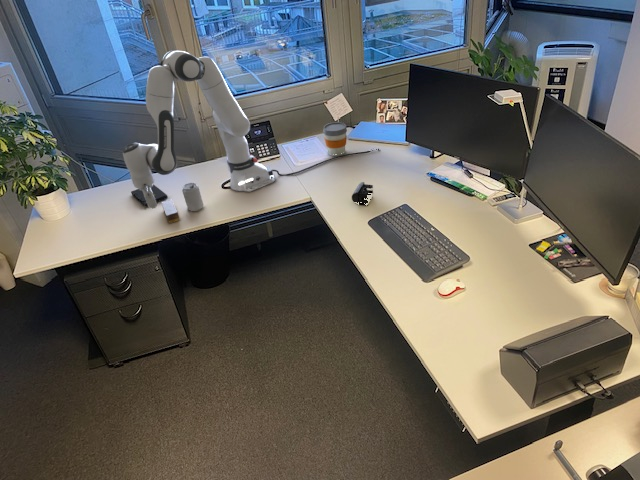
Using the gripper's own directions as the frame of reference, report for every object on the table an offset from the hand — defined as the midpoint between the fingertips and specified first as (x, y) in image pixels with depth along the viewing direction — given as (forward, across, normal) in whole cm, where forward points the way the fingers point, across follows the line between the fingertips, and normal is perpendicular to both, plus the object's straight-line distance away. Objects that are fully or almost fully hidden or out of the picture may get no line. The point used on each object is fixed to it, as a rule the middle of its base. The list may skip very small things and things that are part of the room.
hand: (153, 206), depth 209 cm
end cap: (+8, -38, -86) cm, 95 cm away
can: (+7, 0, -18) cm, 19 cm away
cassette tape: (+7, +25, 0) cm, 26 cm away
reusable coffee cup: (+9, +14, -100) cm, 101 cm away
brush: (+7, 0, -6) cm, 9 cm away
